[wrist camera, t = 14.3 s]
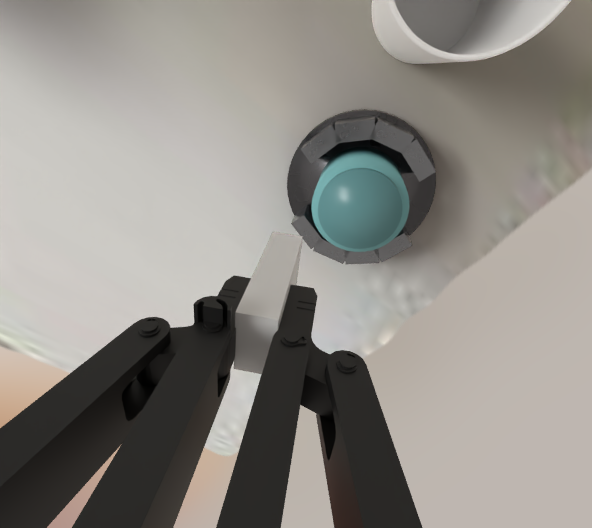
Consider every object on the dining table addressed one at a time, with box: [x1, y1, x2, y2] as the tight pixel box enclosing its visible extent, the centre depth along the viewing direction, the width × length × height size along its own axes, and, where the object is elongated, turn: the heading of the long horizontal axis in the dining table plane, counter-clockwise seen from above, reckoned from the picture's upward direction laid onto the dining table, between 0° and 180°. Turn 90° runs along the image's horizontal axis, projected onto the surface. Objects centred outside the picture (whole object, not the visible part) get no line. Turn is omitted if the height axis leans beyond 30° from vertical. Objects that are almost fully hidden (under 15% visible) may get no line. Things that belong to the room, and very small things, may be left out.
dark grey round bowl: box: [287, 109, 436, 264], centre depth 34 cm, size 14×14×4 cm
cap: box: [312, 147, 409, 252], centre depth 32 cm, size 8×8×6 cm
